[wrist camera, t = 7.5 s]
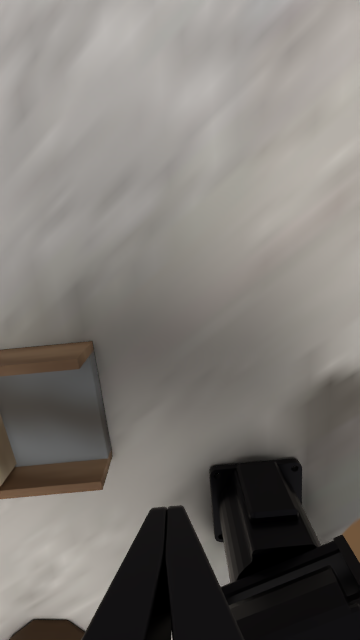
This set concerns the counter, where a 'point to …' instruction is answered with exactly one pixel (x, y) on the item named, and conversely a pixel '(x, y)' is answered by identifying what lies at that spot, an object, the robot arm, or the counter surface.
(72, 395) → the brown wooden tray
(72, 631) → the beer bottle
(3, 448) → the tan wooden brick
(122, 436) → the counter surface
